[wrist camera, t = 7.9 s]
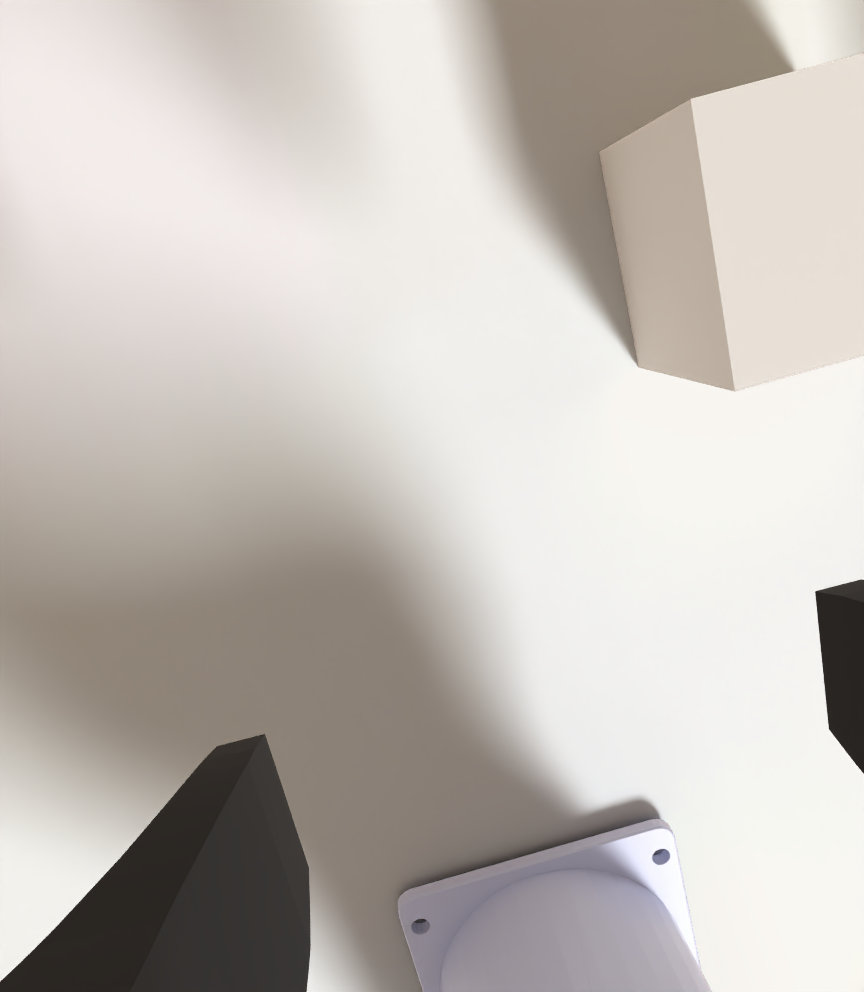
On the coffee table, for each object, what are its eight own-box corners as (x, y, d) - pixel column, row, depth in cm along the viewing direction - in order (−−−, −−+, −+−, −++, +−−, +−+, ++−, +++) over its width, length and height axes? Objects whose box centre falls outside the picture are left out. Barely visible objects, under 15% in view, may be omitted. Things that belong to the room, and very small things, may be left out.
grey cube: (831, 313, 19) (993, 319, 14) (637, 366, 19) (734, 391, 14) (806, 96, 18) (975, 23, 13) (597, 152, 18) (690, 98, 13)
